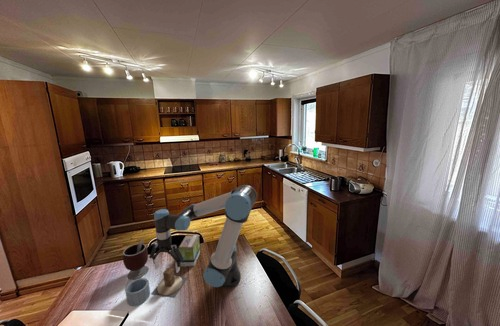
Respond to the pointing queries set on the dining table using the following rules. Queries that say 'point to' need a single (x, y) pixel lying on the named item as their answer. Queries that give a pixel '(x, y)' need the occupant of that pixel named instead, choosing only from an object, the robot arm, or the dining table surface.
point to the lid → (169, 283)
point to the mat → (170, 294)
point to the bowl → (137, 291)
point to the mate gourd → (136, 260)
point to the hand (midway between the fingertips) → (167, 269)
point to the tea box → (190, 250)
